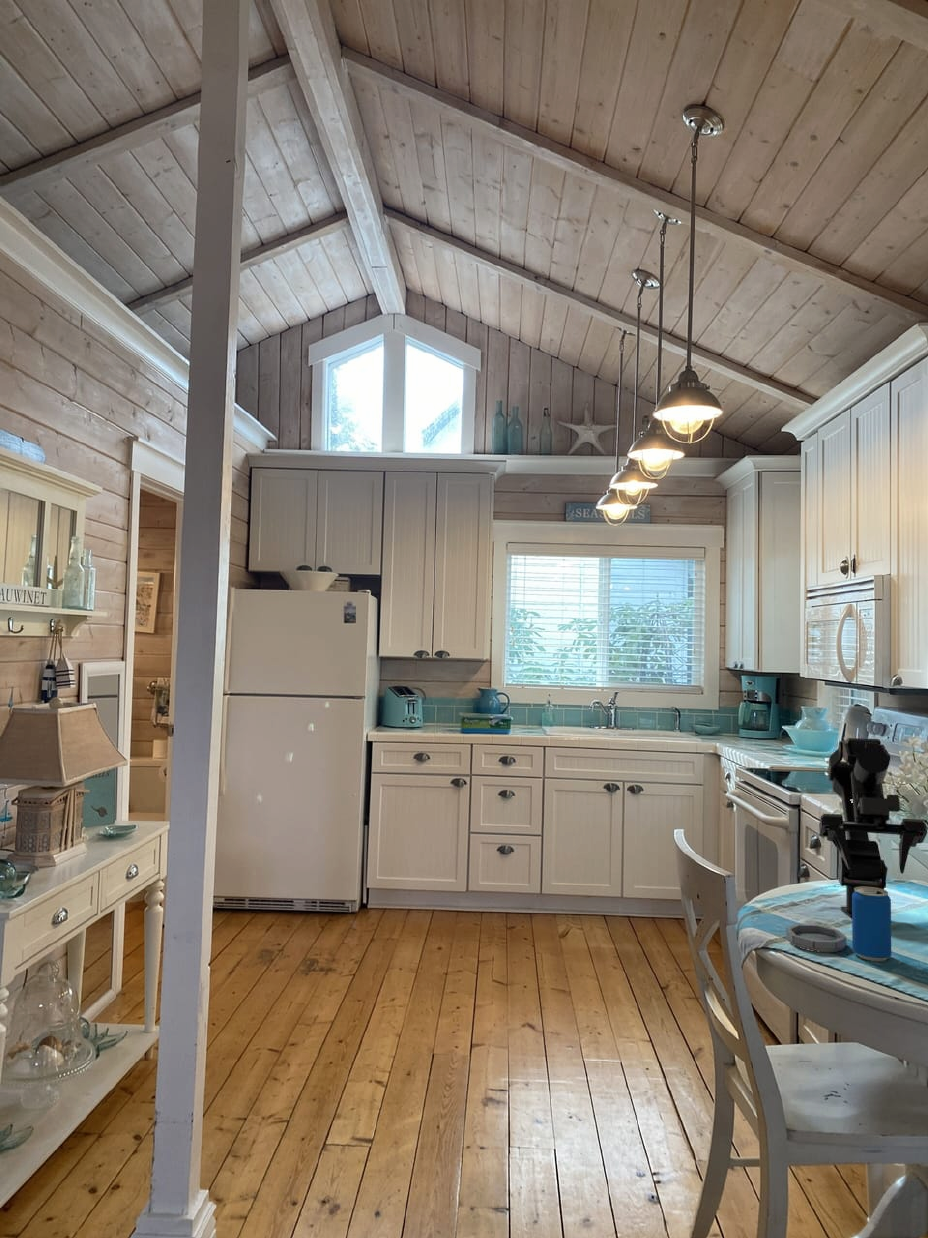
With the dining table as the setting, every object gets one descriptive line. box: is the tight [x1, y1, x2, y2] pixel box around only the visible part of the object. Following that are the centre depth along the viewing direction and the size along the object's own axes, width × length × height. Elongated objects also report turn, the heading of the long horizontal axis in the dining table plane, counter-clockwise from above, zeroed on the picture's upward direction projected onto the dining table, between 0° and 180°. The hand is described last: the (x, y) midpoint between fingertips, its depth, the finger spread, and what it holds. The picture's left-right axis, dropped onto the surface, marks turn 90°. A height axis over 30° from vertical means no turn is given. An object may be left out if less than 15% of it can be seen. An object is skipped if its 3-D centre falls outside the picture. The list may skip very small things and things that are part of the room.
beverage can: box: [851, 886, 892, 962], centre depth 155 cm, size 6×6×12 cm
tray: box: [785, 923, 847, 953], centre depth 161 cm, size 10×10×2 cm
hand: (875, 870), depth 161 cm, fingers open, 9 cm apart
